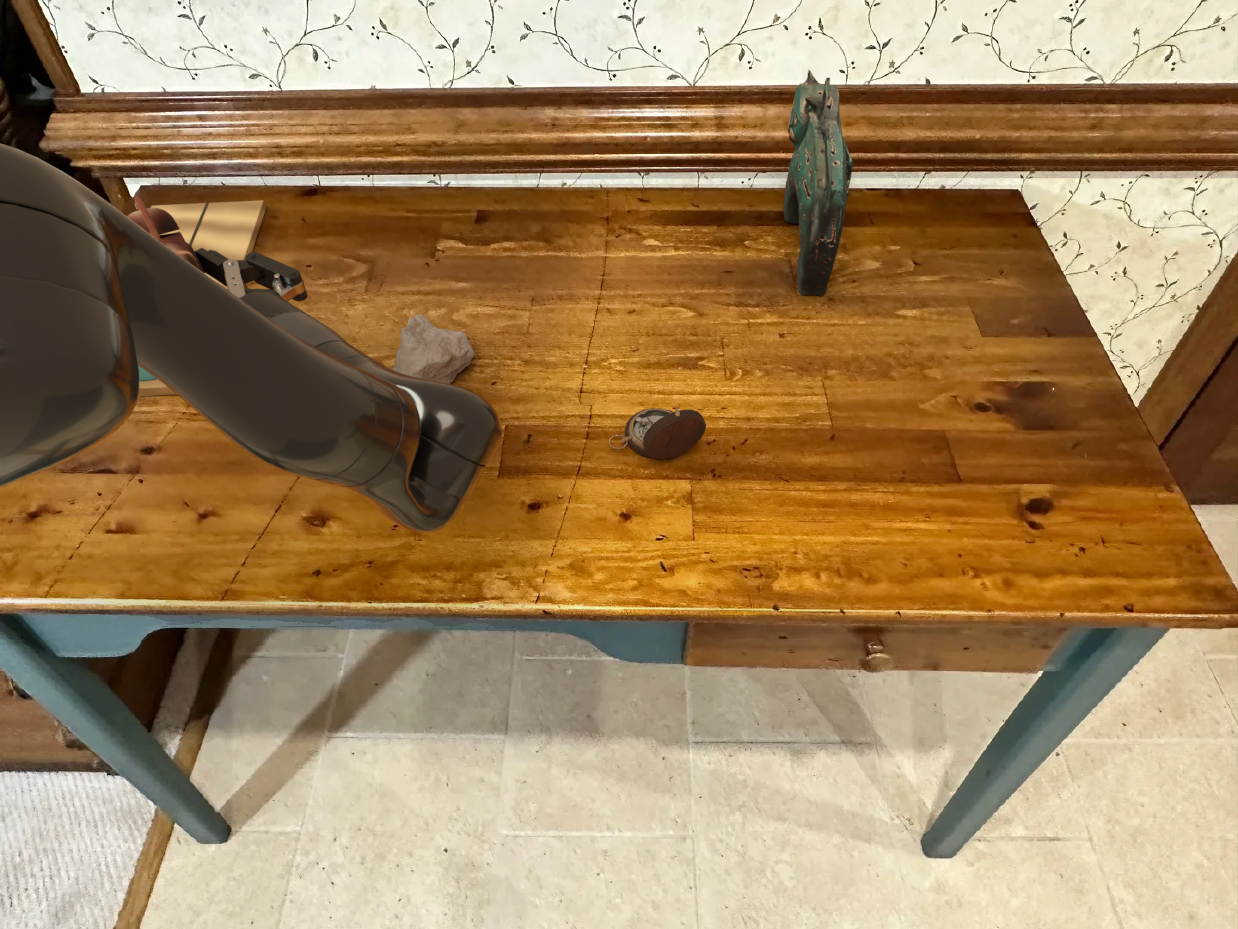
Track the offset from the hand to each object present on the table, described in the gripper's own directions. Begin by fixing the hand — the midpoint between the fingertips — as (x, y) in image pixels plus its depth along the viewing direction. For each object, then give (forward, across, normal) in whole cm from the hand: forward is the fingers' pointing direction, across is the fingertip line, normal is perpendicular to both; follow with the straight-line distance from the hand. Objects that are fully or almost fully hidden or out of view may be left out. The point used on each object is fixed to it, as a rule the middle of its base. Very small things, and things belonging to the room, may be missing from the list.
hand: (166, 277), depth 75 cm
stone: (-11, -16, +18) cm, 26 cm away
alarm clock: (0, 0, +9) cm, 9 cm away
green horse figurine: (-30, -61, +18) cm, 70 cm away
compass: (-35, -23, +18) cm, 45 cm away
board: (+23, -8, +17) cm, 30 cm away
